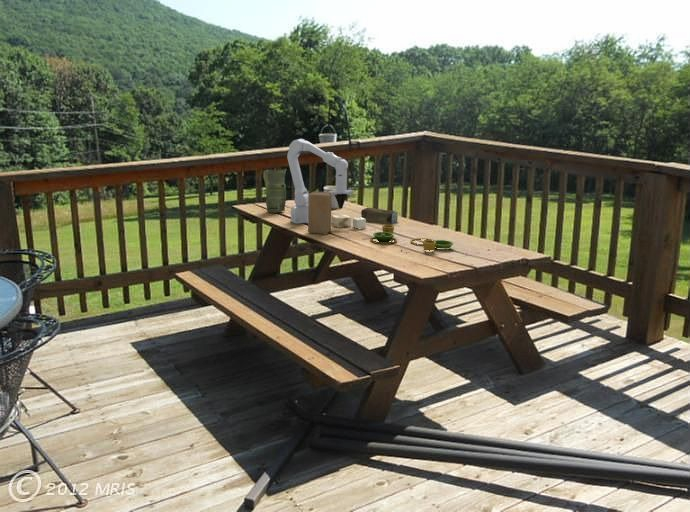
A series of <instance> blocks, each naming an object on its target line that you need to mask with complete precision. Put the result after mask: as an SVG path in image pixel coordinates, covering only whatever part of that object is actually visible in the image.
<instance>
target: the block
mask: <svg viewBox="0 0 690 512" xmlns="http://www.w3.org/2000/svg"><path fill="white" fill-rule="evenodd" d="M308 194H309V195H308V223H307V232H308V234H314V233H318V235H327V234H328V233H329V232H331V230H332V224H331V215H332V196H333V195H332V194H331V193H330V192H328V191H317V190H316V191H315V190H314V191H312V192H310V193H308Z"/></svg>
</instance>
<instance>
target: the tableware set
mask: <svg viewBox="0 0 690 512" xmlns="http://www.w3.org/2000/svg"><path fill="white" fill-rule="evenodd" d="M381 228H382V231H377V232H374V233H373V234H372V235H373V236H367V238H370V241H371V242H372V243H373V242H376V241H373V239H377V240H378V241H379V242H376V243H375V244H377V243H381V244H380V245H392V244H391V243H393V244H395V243H396V242H398V240H397V238H395V237H394V236H395V234H394V230H395V225H394V224H382V227H381ZM371 237H372V238H371ZM364 238H366V237H364ZM421 239H426V240H424V241H423V244H418V245H417V246H419V245H423V246H422V248H423V251H424V250H429V251H430V250H434V251H436V249H435V247H436V248H450V249H451V248H452V246H454V242H453V241H450V240H444V239H437V240H435V239H433V238H424V237H419V238H417V237H416V238H412V239H410V243H411V244H412V243H413V245H415V244H417V243H414V242H413V241H415V240H421ZM393 240H394V242H392V241H393ZM432 240H433V241H432ZM389 241H391V242H389Z"/></svg>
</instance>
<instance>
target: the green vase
mask: <svg viewBox="0 0 690 512" xmlns="http://www.w3.org/2000/svg"><path fill="white" fill-rule="evenodd" d="M286 171H288V169H287V168H282V169H278V170H277V168H274V169H265V170H262V172H263V173H262V178H263V181H264V185H265V196H266V197H265V200H266V201H265V206H266V209H267V210H266V212H267V213H270V214H271V213H272V214H273V213H274V214H277V213H282V212H285V211H286V203H287V202H286V201H287V194H288V193H287V192H288V191H287V189H286V184H285V181H286V180H285V177H286V173H287V172H286Z"/></svg>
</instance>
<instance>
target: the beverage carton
mask: <svg viewBox="0 0 690 512" xmlns="http://www.w3.org/2000/svg"><path fill="white" fill-rule="evenodd" d="M398 213H399V212H398V211H396V210H389V209H382V208H374V207H373V208H372V207H366V208H364V209H361V212H360V217H362V218H364V219H366V222H373V223H382V224H387V225H394V224H395V223H397V222H398V218H399V217H398Z"/></svg>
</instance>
